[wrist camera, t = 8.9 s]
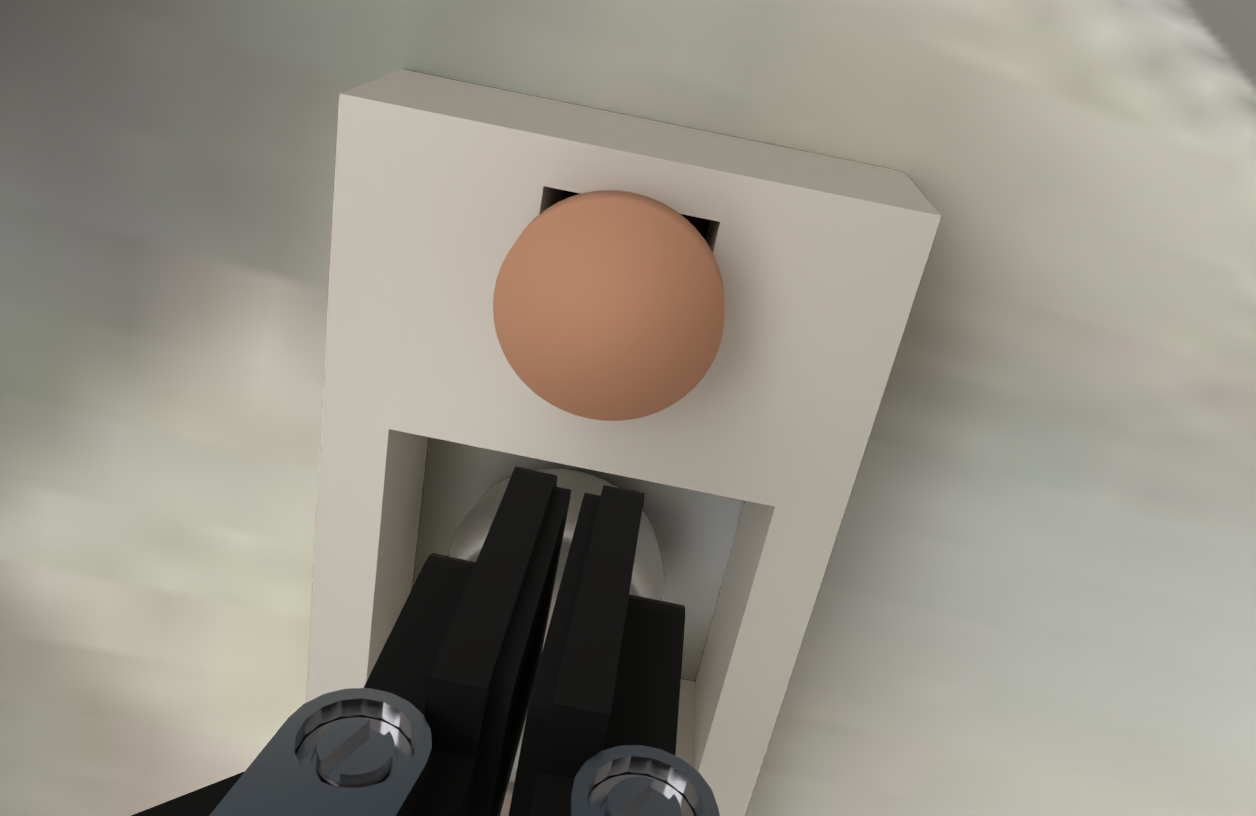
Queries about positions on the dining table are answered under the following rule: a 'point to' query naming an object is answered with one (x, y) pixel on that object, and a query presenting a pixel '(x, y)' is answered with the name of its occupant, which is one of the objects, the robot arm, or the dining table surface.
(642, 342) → the brown egg
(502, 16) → the dining table surface
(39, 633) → the dining table surface
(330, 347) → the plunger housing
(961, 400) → the dining table surface
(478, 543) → the gray metal bottle
